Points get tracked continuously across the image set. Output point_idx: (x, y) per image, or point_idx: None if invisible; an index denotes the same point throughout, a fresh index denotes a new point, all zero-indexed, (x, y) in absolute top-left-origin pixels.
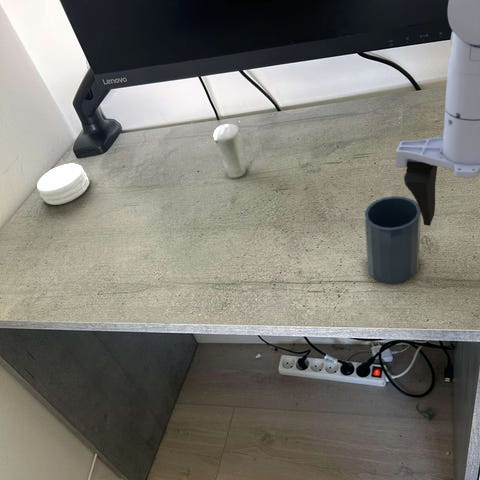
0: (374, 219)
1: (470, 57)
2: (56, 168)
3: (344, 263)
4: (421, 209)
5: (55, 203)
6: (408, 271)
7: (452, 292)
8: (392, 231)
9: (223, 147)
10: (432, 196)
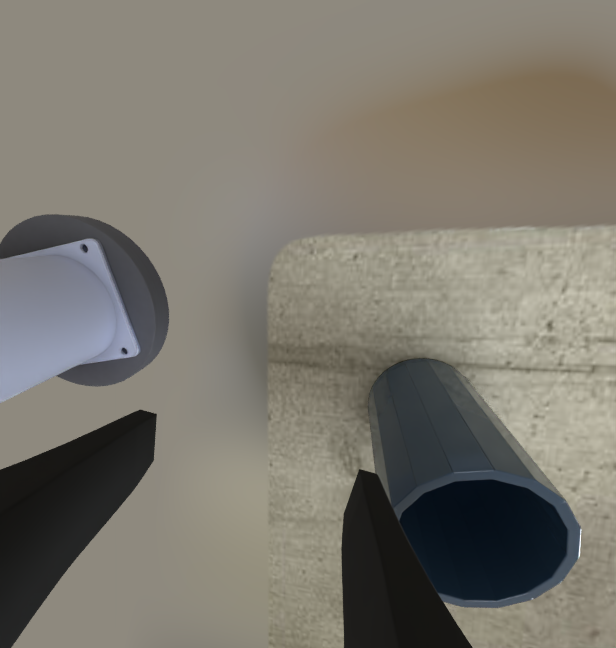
0: (505, 527)
1: None
2: None
3: (525, 421)
4: (405, 542)
5: None
6: (392, 379)
7: (306, 332)
8: (483, 464)
9: None
10: (356, 604)
